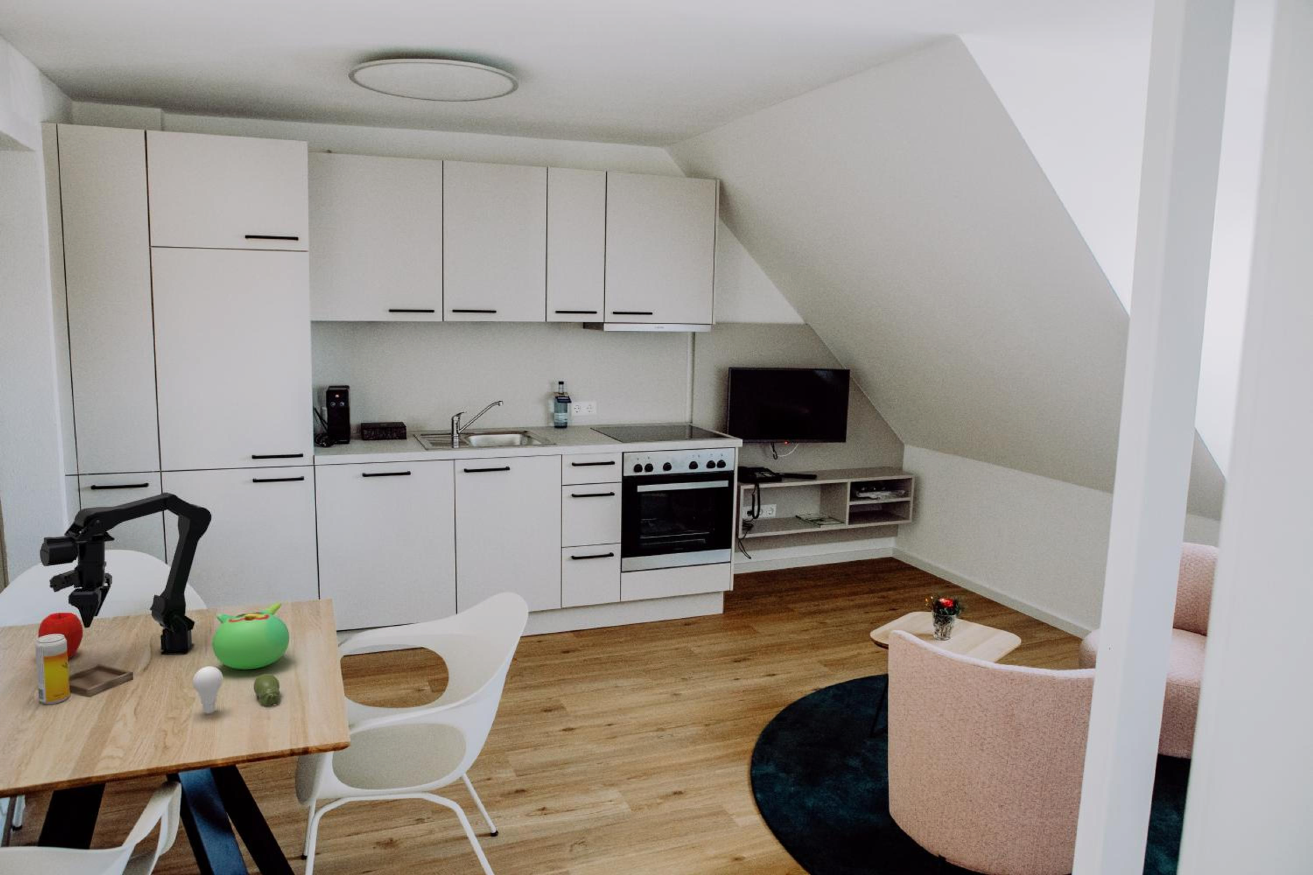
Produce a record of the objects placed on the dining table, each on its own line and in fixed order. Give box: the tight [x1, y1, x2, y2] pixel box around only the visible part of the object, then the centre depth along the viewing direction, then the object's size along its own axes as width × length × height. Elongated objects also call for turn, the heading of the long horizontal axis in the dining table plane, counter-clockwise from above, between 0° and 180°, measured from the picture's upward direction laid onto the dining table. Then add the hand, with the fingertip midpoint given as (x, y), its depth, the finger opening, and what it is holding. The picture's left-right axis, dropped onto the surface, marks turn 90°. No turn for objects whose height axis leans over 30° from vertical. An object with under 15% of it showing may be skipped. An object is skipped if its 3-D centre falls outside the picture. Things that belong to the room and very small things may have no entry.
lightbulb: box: [192, 666, 224, 715], centre depth 209 cm, size 6×6×11 cm
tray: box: [69, 663, 134, 698], centre depth 223 cm, size 12×12×2 cm
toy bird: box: [212, 602, 290, 670], centre depth 236 cm, size 18×17×15 cm
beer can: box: [34, 634, 71, 705], centre depth 213 cm, size 6×6×15 cm
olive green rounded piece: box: [253, 673, 281, 707], centre depth 218 cm, size 6×5×10 cm
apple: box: [37, 612, 84, 659], centre depth 237 cm, size 10×10×12 cm
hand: (91, 621), depth 228 cm, fingers open, 9 cm apart
